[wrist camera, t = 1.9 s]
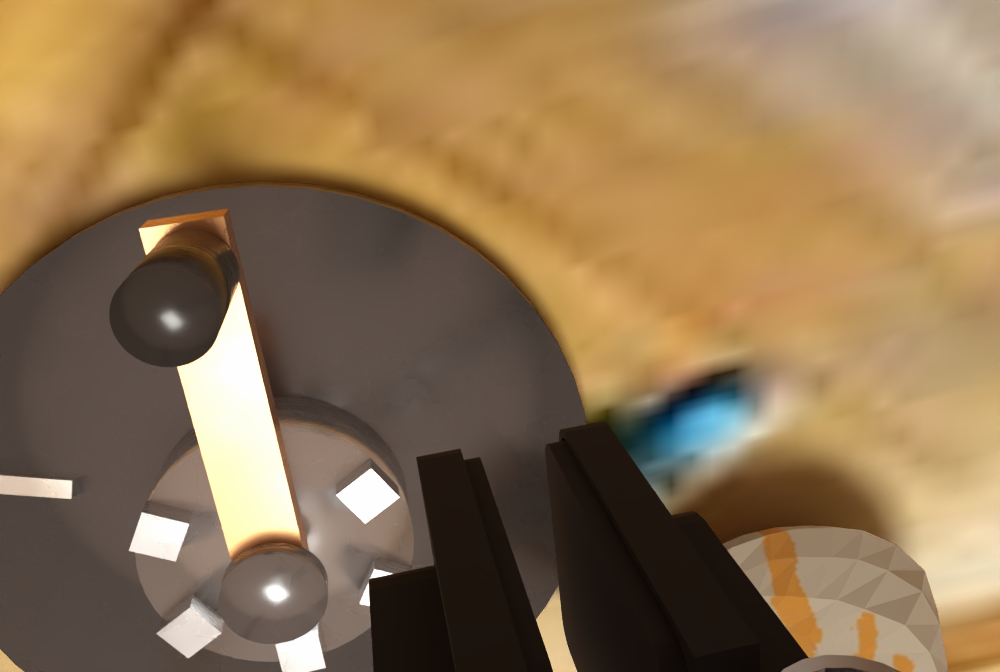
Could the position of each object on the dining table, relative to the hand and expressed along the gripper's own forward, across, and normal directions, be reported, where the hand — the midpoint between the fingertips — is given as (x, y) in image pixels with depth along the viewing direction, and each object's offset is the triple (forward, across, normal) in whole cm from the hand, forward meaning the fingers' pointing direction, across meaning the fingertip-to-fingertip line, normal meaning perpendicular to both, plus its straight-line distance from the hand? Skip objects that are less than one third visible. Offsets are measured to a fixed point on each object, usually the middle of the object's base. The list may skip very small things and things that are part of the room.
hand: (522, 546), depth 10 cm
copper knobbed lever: (+22, +7, +7) cm, 24 cm away
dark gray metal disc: (+23, +6, +12) cm, 27 cm away
